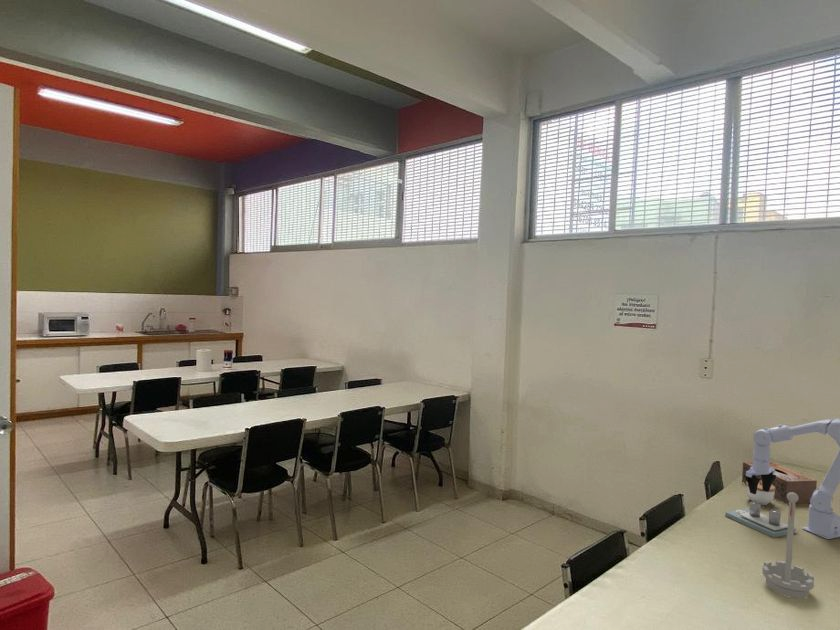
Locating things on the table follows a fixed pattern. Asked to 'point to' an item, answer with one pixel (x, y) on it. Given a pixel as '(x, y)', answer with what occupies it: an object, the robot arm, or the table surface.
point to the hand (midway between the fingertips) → (759, 492)
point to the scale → (758, 523)
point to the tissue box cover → (787, 483)
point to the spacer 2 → (774, 517)
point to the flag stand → (788, 566)
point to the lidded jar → (761, 494)
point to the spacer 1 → (755, 509)
